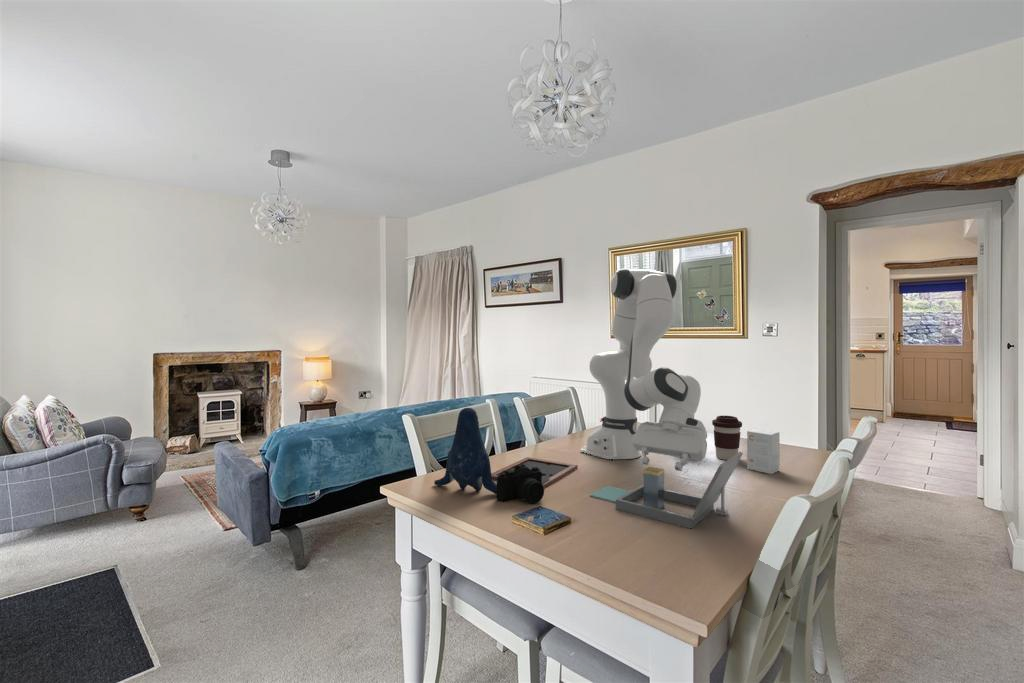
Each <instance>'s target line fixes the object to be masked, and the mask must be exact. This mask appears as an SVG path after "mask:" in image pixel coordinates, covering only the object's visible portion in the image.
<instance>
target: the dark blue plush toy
mask: <svg viewBox="0 0 1024 683" xmlns="http://www.w3.org/2000/svg"><path fill="white" fill-rule="evenodd" d="M479 422H480V421H479V415H478V414H477V411H476V410H475V409H474V408H472V407H465V408H462V409H461V410H460V411H459V413H458V416H457V423H456V426H455V427H456V428H455V433H454V438H453V442H452V445H451V448H450V449H449V451H448V453H447V457H446V465H445V474H444V476H443V477H441V478H439V479H436V480H434V483H433V484H434V485H435V486H439V487H440V486H446V485H449V484H451V483H453V482H454V481H455V482H456V483H457V484H458V486H459V488H460V489H461V490H465V489H466V488H467V486H469V487H472V488H473V489H474V490H475V491H476V492H477V493H478V492H480V491H481V490H482V488H485V489H486V490H487V491H489V492H491V493H493V494H496V495H497V482H494V480H492V475H491V474H492V470H491V469H492V467H491V461H490V456H489V453H488V452H487V450H486V445H485V443H484V441H483V437H482V433H481V430H480V425H479V424H480V423H479Z"/></svg>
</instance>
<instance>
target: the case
mask: <svg viewBox="0 0 1024 683" xmlns="http://www.w3.org/2000/svg"><path fill="white" fill-rule="evenodd" d="M743 455H744V453H743V452H741V451H738V453H737V454H736V455H734V456H733V457H731V458H730V459H728V460H724V462H723V463H721V464H720V465H718V467H717V469H716V471H715V473H714V475H713V476H712V479H711V480H710V482H709V484H708V486H707V488H706V490H705V492H704V494H703V495H702V496H697V495H692V494H688V493H683V492H679V491H674V490H669V489H667V488H666V489H665V488H664V500H665V499H667V500H666V501H670V500H671V501H670V502H674V501H676V502H675V503H678V502H680V503H679V504H683V503H685V504H684V505H687V504H688V506H691V505H693V506H692V507H695V506H697V507H696V508H695V509H694V511H693V512H692V513H691V514H689V515H685V514H682V513H681V514H680V513H678V512H674V511H669V510H666V509H662V508H661V509H658V508H654V507H650V506H646V505H644V504H641V503H638V502H637V503H636V502H634V500H635V501H636V500H638V499H640V498H641V497H643V496H644V484H641V485H639V486H637V487H635V488H634V489H632V490H629V491H630V492H628V493H627V494H625V495H623V496H621V497H619V498H618V499H616V503H615V510H619V511H622V512H627V513H630V514H633V515H637V516H641V517H644V516H645V518H648V517H649V518H648V519H652V518H653V519H652V520H656V519H657V521H659V520H660V522H663V521H664V523H667V522H668V524H671V523H672V524H671V525H675V526H678V525H680V526H679V527H682V526H683V527H682V528H686V527H687V529H690V528H692V527H693V526H694V527H695V526H696V525H697V524H698V522H699V521H700V520H701V519H702V520H703V519H705V518H706V517H707V516H708V515H709V514H710V513H711V512H712V511H713V509H714V510H715V514H716V513H717V514H716V515H719V514H721V515H720V516H723V515H726V516H727V515H729V508H725V505H726V504H725V502H726V501H725V499H726V498H725V494H726V493H725V490H726V489H725V488H726V485H727V483H728V482H729V480H730V478H731V476H732V474H733V473H734V471H735V470H736V467H737V466H738V464H739V461H740V460H741V458H742V456H743ZM642 495H643V496H642ZM639 497H640V498H639ZM637 498H638V499H637ZM719 498H720V506H718V507H716V508H714V506H715V503H716V502H717V501H718V499H719ZM632 501H633V502H632ZM707 514H708V515H707ZM706 515H707V516H706ZM705 516H706V517H705ZM702 520H701V521H702ZM701 521H700V522H701ZM700 522H699V523H700ZM694 527H693V528H694ZM693 528H692V529H693Z"/></svg>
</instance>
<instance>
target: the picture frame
mask: <svg viewBox="0 0 1024 683" xmlns="http://www.w3.org/2000/svg"><path fill="white" fill-rule="evenodd" d="M522 464H524V465H525V466H526V467H528V468H529V469H530V470H531V469H532V467H538V469H539V470H540V471H541V473H542V474H546V476H544V475H543V476H542V485H543V488H544V489H546V488H547V487H549V486H551V485H553V484H555V483H556V482H557V480H558V481H559V480H561V479H563V478H565V477H566V476H567V474H568V475H569V474H571V473H573V472H574V471H576V470H578V469H577V468H579V465H578V464H574V463H565V462H560V461H553V460H548V459H547V460H546V459H540V458H535V457H534V458H533V457H529V456H526V457H525V458H522V459H520V460H518V461H515V462H514V463H511V464H509V465H507V466H504V467H503V468H500V469H499V470H496V471H493V472H491V475H492V480H493V481H496V480H497V476H499V475H500V473H501V472H502V471H504V470H514V469H515V468H516V465H522ZM575 469H576V470H575ZM572 471H573V472H572ZM562 477H563V478H562Z"/></svg>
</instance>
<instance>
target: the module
mask: <svg viewBox="0 0 1024 683" xmlns="http://www.w3.org/2000/svg"><path fill="white" fill-rule="evenodd" d="M643 485H644V495H643V505H646V506H650V507H654V508H658V509H660V508H661V509H662V508H664V507H665V499H664V489H665V469H664V468H658V467H655V466H654V467H653V466H648V467H646V468H644V469H643ZM663 506H664V507H663Z"/></svg>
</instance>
